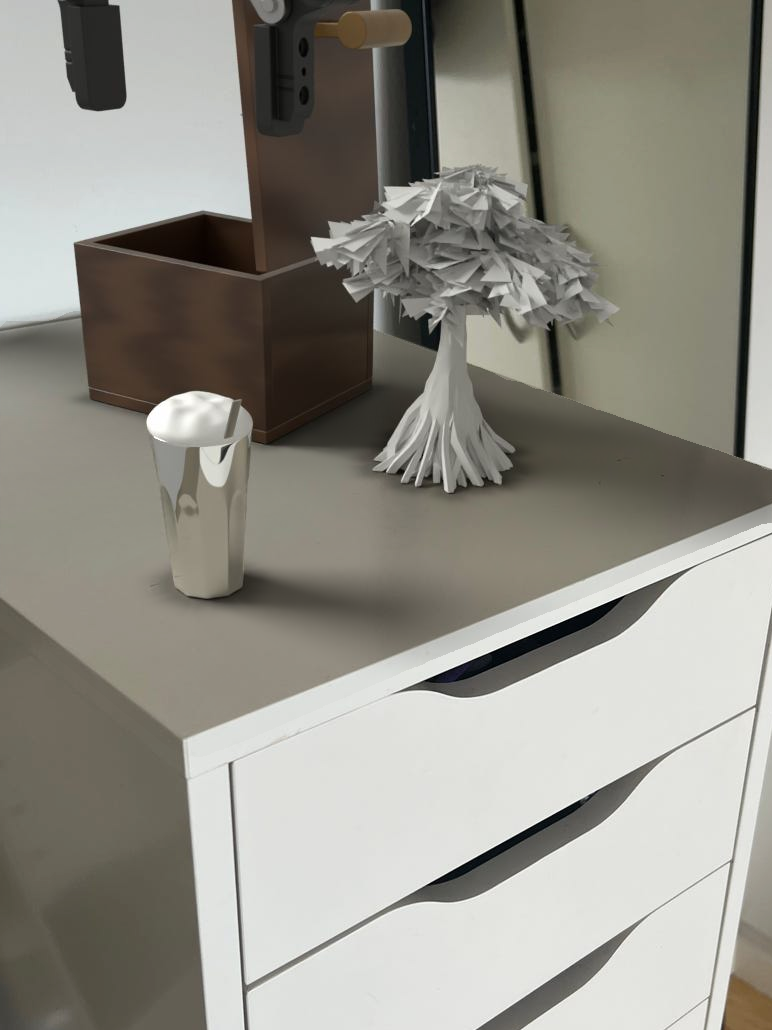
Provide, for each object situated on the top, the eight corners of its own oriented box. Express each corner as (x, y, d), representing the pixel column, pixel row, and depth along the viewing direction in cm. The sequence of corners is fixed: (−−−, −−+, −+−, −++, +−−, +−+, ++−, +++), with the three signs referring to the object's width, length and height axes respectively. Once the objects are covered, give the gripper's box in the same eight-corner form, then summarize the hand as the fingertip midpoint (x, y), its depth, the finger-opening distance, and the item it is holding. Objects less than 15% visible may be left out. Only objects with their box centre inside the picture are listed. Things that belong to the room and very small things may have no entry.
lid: (228, -23, 61) (323, -24, 59) (358, -24, 71) (443, -25, 69) (255, 271, 68) (341, 280, 66) (370, 233, 78) (447, 240, 76)
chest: (89, 399, 78) (73, 242, 73) (209, 350, 88) (202, 210, 83) (266, 444, 73) (261, 280, 68) (372, 388, 83) (375, 241, 78)
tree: (612, 525, 66) (652, 209, 58) (317, 528, 64) (315, 198, 55) (546, 409, 82) (570, 146, 73) (306, 408, 79) (303, 135, 71)
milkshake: (202, 623, 55) (189, 410, 50) (142, 577, 58) (124, 373, 53) (286, 594, 57) (282, 390, 52) (224, 553, 61) (215, 356, 56)
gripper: (409, -401, 40) (396, 134, 48) (67, -389, 45) (109, 93, 53) (277, -466, 34) (288, 157, 42) (-99, -444, 39) (-24, 109, 47)
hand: (188, 121), depth 47 cm, fingers open, 8 cm apart
